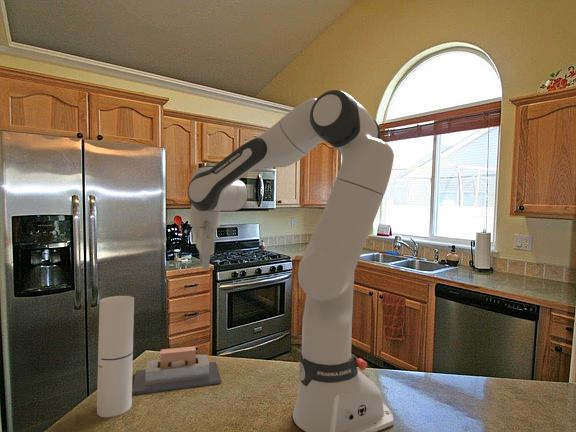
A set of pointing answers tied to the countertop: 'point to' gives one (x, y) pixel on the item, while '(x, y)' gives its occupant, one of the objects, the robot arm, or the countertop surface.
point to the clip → (178, 355)
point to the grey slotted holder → (175, 375)
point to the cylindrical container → (115, 355)
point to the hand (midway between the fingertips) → (204, 266)
